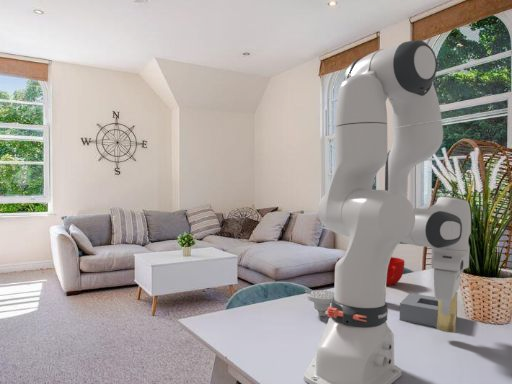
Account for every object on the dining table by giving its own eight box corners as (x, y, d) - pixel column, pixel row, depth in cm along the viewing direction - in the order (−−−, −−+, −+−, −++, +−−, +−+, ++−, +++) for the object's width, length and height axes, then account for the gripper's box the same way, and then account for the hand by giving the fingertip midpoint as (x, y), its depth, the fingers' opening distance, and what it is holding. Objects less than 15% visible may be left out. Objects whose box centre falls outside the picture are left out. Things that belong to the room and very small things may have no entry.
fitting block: (451, 330, 109) (452, 312, 109) (399, 319, 116) (400, 303, 116) (456, 316, 121) (457, 300, 120) (409, 308, 128) (409, 293, 128)
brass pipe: (454, 333, 99) (456, 294, 98) (435, 329, 101) (437, 291, 101) (456, 329, 102) (458, 291, 102) (438, 325, 105) (440, 288, 105)
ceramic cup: (378, 289, 150) (378, 264, 150) (367, 279, 167) (368, 256, 167) (412, 290, 150) (412, 265, 150) (397, 280, 167) (398, 256, 167)
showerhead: (306, 286, 125) (338, 288, 123) (305, 308, 125) (337, 311, 123) (304, 294, 116) (338, 296, 114) (303, 318, 116) (337, 321, 114)
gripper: (442, 253, 112) (439, 300, 112) (430, 262, 95) (427, 318, 95) (466, 256, 108) (464, 305, 109) (459, 265, 91) (456, 324, 91)
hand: (446, 311), depth 102 cm, fingers closed on brass pipe, 4 cm apart
